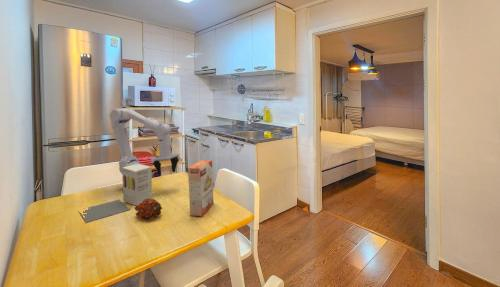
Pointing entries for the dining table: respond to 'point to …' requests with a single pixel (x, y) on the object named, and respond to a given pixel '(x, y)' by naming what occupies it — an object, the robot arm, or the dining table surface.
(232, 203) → the dining table surface
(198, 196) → the cracker box
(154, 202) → the reddish-brown bumpy oval
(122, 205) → the mat
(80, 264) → the dining table surface
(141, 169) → the supplement box
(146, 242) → the dining table surface
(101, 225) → the dining table surface
